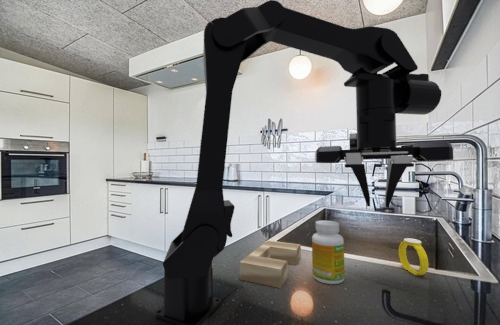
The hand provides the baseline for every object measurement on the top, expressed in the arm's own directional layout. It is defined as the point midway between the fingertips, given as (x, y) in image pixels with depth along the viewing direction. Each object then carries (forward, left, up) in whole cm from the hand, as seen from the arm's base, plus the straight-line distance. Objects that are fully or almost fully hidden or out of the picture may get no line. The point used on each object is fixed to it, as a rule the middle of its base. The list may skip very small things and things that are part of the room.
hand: (377, 206), depth 39 cm
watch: (+9, -6, -13) cm, 17 cm away
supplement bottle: (0, +8, -13) cm, 15 cm away
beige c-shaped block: (0, +18, -13) cm, 22 cm away
